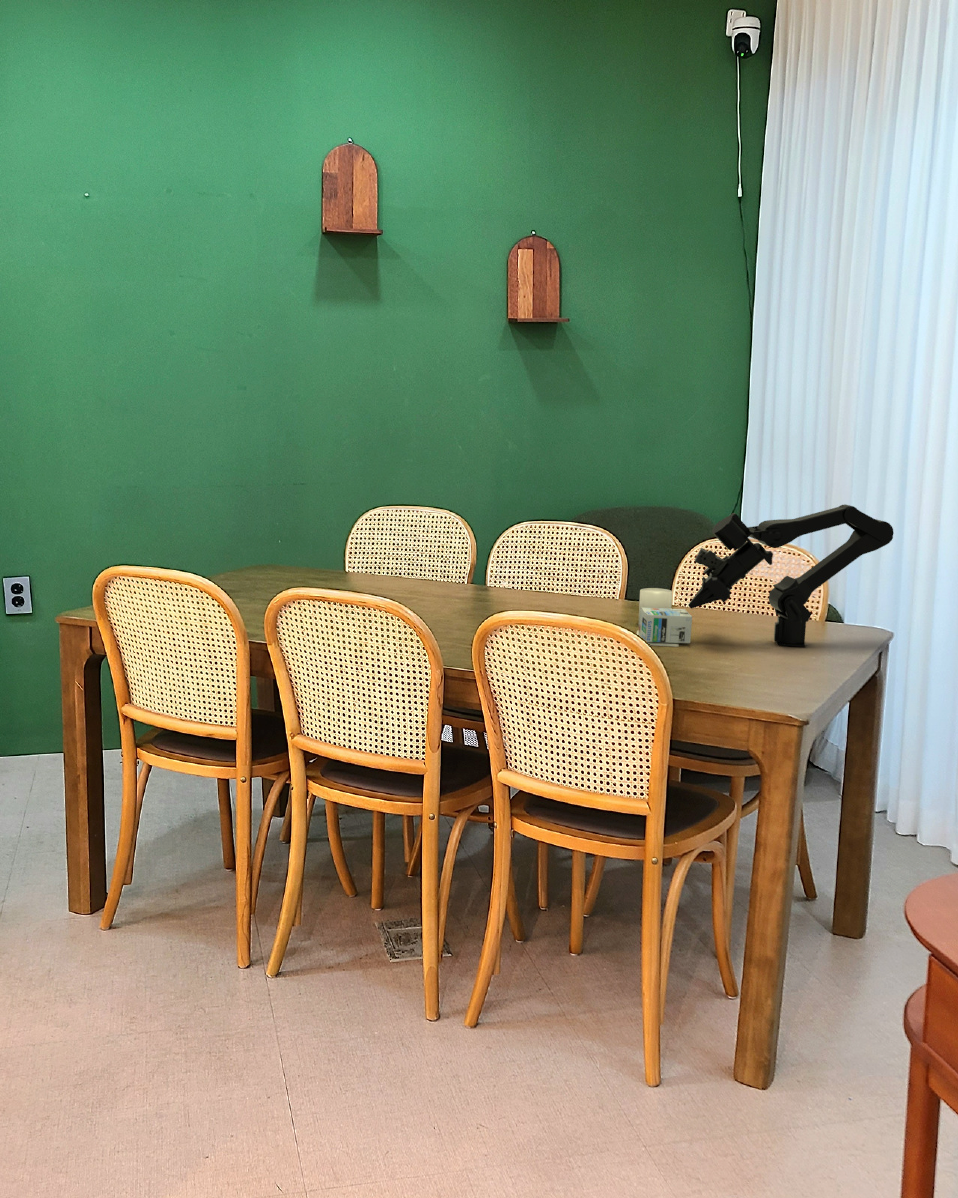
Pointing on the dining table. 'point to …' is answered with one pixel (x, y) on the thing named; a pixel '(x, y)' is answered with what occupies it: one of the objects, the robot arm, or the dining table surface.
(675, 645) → the mat
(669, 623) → the light bulb box
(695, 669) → the dining table surface
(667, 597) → the cream rounded cylinder
